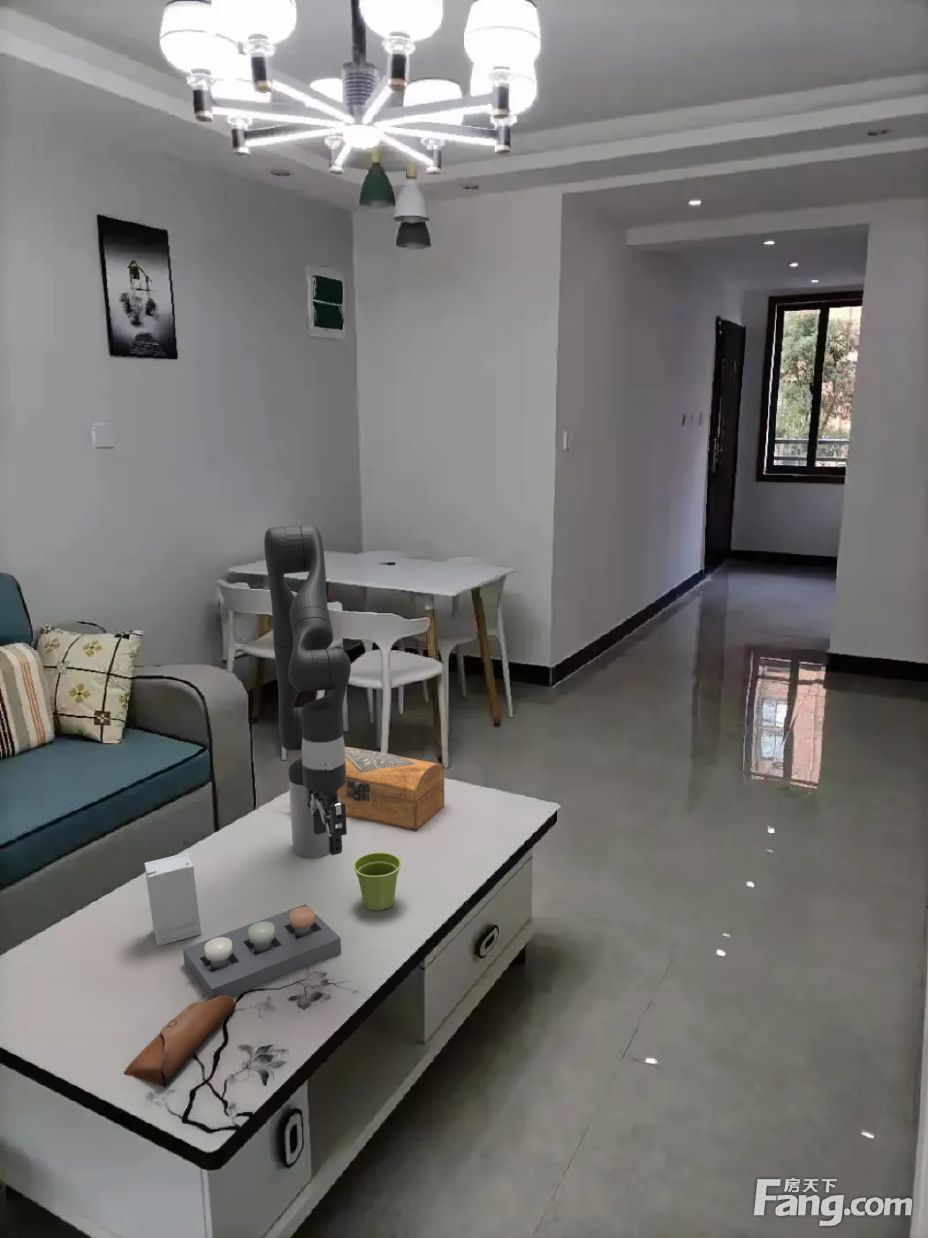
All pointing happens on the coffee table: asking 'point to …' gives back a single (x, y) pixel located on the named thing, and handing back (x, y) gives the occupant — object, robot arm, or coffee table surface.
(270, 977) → the console
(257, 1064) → the coffee table surface
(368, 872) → the plant pot
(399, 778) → the wooden box
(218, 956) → the ivory button
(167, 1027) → the sunglasses case
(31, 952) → the coffee table surface
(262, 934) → the sage button
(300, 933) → the terracotta button
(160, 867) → the skincare box
